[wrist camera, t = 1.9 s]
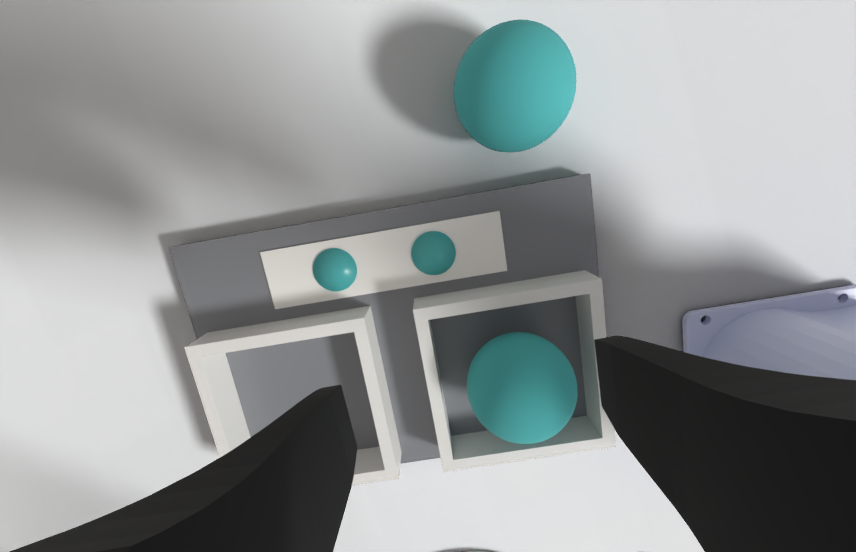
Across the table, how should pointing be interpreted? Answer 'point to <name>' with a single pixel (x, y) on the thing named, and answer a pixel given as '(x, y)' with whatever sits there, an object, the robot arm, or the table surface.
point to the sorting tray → (399, 320)
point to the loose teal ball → (515, 86)
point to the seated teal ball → (522, 388)
